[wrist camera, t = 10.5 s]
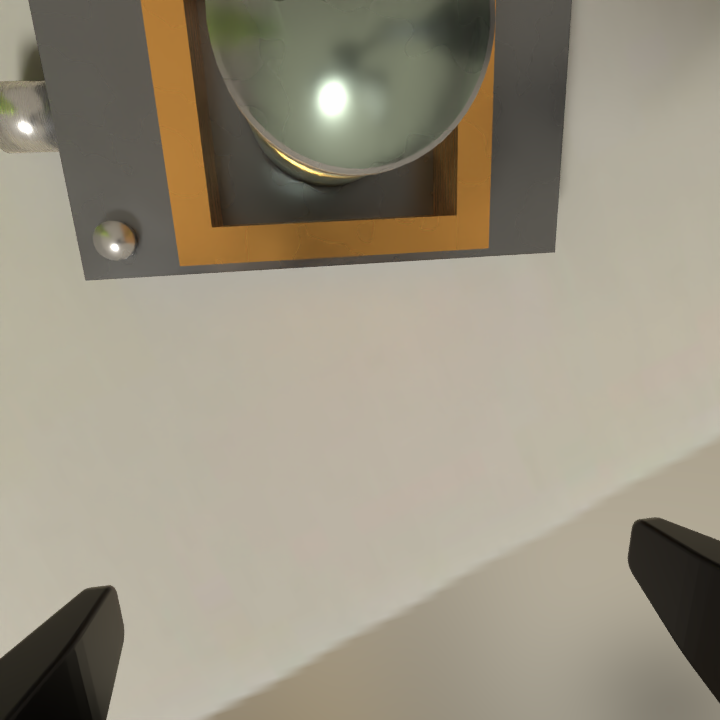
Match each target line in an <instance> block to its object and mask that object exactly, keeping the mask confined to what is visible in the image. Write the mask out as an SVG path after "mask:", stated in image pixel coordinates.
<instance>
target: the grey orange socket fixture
mask: <svg viewBox="0 0 720 720" xmlns="http://www.w3.org/2000/svg"><path fill="white" fill-rule="evenodd" d="M29 5H30V10H31V15H32V20H33V25H34V30H35V35H36V40H37V45H38V49H39V54H40V59H41V64H42V69H43V74H44V79H45V81H0V148H1V149H2V150H3V151H5V152H7V153H28V152H60V157H61V162H62V167H63V172H64V177H65V182H66V187H67V192H68V196H69V201H70V206H71V211H72V216H73V221H74V226H75V231H76V236H77V241H78V245H79V250H80V255H81V260H82V265H83V270H84V275H85V280H102V279H118V278H135V277H152V276H168V275H185V274H201V273H218V272H235V271H251V270H268V269H284V268H301V267H318V266H334V265H351V264H367V263H384V262H401V261H417V260H434V259H450V258H467V257H484V256H500V255H517V254H533V253H550V252H555V242H556V227H557V212H558V198H559V183H560V168H561V153H562V138H563V124H564V109H565V94H566V79H567V65H568V50H569V35H570V20H571V5H572V0H495V16H496V18H495V31H494V41H493V46H492V51H491V57H490V61H489V64H488V67H487V71H486V74H485V77H484V80H483V82H482V84H481V87H480V89H479V91H478V94H477V96H476V98H475V99H474V101H473V103H472V105H471V106H470V108H469V110H468V111H467V113H466V114H465V116H464V117H463V118H462V120H461V121H460V122H459V124H458V125H457V126H456V128H455V129H454V130H453V131H452V132H451V133H450V134H449V135H448V136H447V137H446V138H445V139H444V140H443V141H442V142H441V143H439V144H438V145H437V146H436V147H434V148H433V149H432V150H430V151H429V152H428V153H426V154H424V155H423V156H421V157H419V158H418V159H416V160H414V161H412V162H410V163H407V164H405V165H403V166H400V167H398V168H395V169H393V170H390V171H386V172H382V173H379V174H374V175H368V176H365V177H363V178H361V179H359V180H356V181H354V182H351V183H348V184H344V185H338V186H319V185H313V184H309V183H306V182H302V181H300V180H298V179H296V178H294V177H292V176H290V175H288V174H287V173H285V172H284V171H282V170H281V169H280V168H279V167H277V166H276V165H275V164H274V163H273V162H272V161H271V160H270V159H269V158H268V157H267V155H266V154H265V153H264V151H263V150H262V149H261V147H260V146H259V144H258V142H257V140H256V139H255V137H254V134H253V132H252V130H251V127H250V125H249V123H248V121H247V119H246V118H245V117H244V115H243V114H242V113H241V111H240V110H239V108H238V106H237V105H236V103H235V101H234V99H233V98H232V96H231V94H230V92H229V90H228V88H227V86H226V84H225V82H224V79H223V77H222V75H221V72H220V70H219V68H218V66H217V63H216V59H215V56H214V53H213V49H212V46H211V42H210V37H209V31H208V26H207V20H206V5H205V0H29Z"/></svg>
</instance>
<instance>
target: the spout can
mask: <svg viewBox="0 0 720 720" xmlns="http://www.w3.org/2000/svg"><path fill="white" fill-rule="evenodd" d="M205 5H206V20H207V26H208V31H209V37H210V42H211V46H212V49H213V53H214V56H215V59H216V63H217V66H218V68H219V70H220V72H221V75H222V77H223V79H224V82H225V84H226V86H227V88H228V90H229V92H230V94H231V96H232V98H233V99H234V101H235V103H236V105H237V106H238V108H239V110H240V111H241V113H242V114H243V115H244V117H245V118H246V119H247V121H248V123H249V125H250V127H251V130H252V132H253V134H254V137H255V139H256V140H257V142H258V144H259V146H260V147H261V149H262V150H263V151H264V153H265V154H266V155H267V157H268V158H269V159H270V160H271V161H272V162H273V163H274V164H275V165H276V166H277V167H279V168H280V169H281V170H282V171H284V172H285V173H287V174H288V175H290V176H292V177H294V178H296V179H298V180H300V181H302V182H306V183H309V184H313V185H319V186H338V185H344V184H348V183H351V182H354V181H356V180H359V179H361V178H363V177H365V176H368V175H374V174H379V173H382V172H386V171H390V170H393V169H395V168H398V167H400V166H403V165H405V164H407V163H410V162H412V161H414V160H416V159H418V158H419V157H421V156H423V155H424V154H426V153H428V152H429V151H430V150H432V149H433V148H434V147H436V146H437V145H438V144H439V143H441V142H442V141H443V140H444V139H445V138H446V137H447V136H448V135H449V134H450V133H451V132H452V131H453V130H454V129H455V128H456V126H457V125H458V124H459V122H460V121H461V120H462V118H463V117H464V116H465V114H466V113H467V111H468V110H469V108H470V106H471V105H472V103H473V101H474V99H475V98H476V96H477V94H478V91H479V89H480V87H481V84H482V82H483V80H484V77H485V74H486V71H487V67H488V64H489V61H490V57H491V51H492V46H493V41H494V31H495V18H496V16H495V0H205Z"/></svg>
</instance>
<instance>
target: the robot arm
mask: <svg viewBox="0 0 720 720" xmlns="http://www.w3.org/2000/svg"><path fill="white" fill-rule="evenodd" d="M628 563H629V567H630V569H631V572H632V574H633V575H634V577H635V579H636V580H637V582H638V583H639V585H640V586H641V588H642V590H643V591H644V593H645V594H646V596H647V598H648V599H649V601H650V603H651V604H652V606H653V607H654V609H655V611H656V612H657V614H658V615H659V617H660V619H661V620H662V622H663V623H664V625H665V627H666V628H667V630H668V631H669V633H670V635H671V636H672V638H673V639H674V641H675V642H676V644H677V645H678V647H679V648H680V650H681V651H682V653H683V654H684V656H685V657H686V659H687V660H688V661H689V663H690V664H691V666H692V667H693V668H694V670H695V671H696V672H697V673H698V675H699V676H700V677H701V679H702V680H703V682H704V683H705V684H706V686H707V687H708V688H709V690H710V691H711V692H712V694H713V695H714V696H715V697H716V699H717V700H718V702H719V703H720V541H719V540H716V539H713V538H711V537H709V536H706V535H703V534H701V533H698V532H695V531H693V530H690V529H688V528H685V527H682V526H680V525H677V524H674V523H672V522H669V521H667V520H664V519H661V518H647V519H639V520H637V521H635V522H634V524H633V526H632V531H631V538H630V545H629V552H628ZM123 642H124V624H123V619H122V614H121V610H120V605H119V600H118V595H117V592H116V590H115V588H114V587H113V586H111V585H107V586H99V587H91V588H87V589H85V590H83V591H82V592H81V593H79V594H78V595H77V596H76V597H74V598H73V599H72V600H71V601H70V602H68V603H67V604H66V605H65V606H64V607H62V608H61V609H60V610H59V611H57V612H56V613H55V614H54V615H53V616H51V617H50V618H49V619H48V620H47V621H45V622H44V623H43V624H42V625H40V626H39V627H38V628H37V629H36V630H34V631H33V632H32V633H31V634H30V635H28V636H27V637H26V638H25V639H23V640H22V641H21V642H20V643H19V644H17V645H16V646H15V647H14V648H13V649H11V650H10V651H9V652H8V653H7V654H5V655H4V656H3V657H2V658H0V720H106V718H107V714H108V709H109V705H110V700H111V696H112V691H113V687H114V682H115V678H116V673H117V669H118V664H119V660H120V656H121V651H122V647H123Z"/></svg>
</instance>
